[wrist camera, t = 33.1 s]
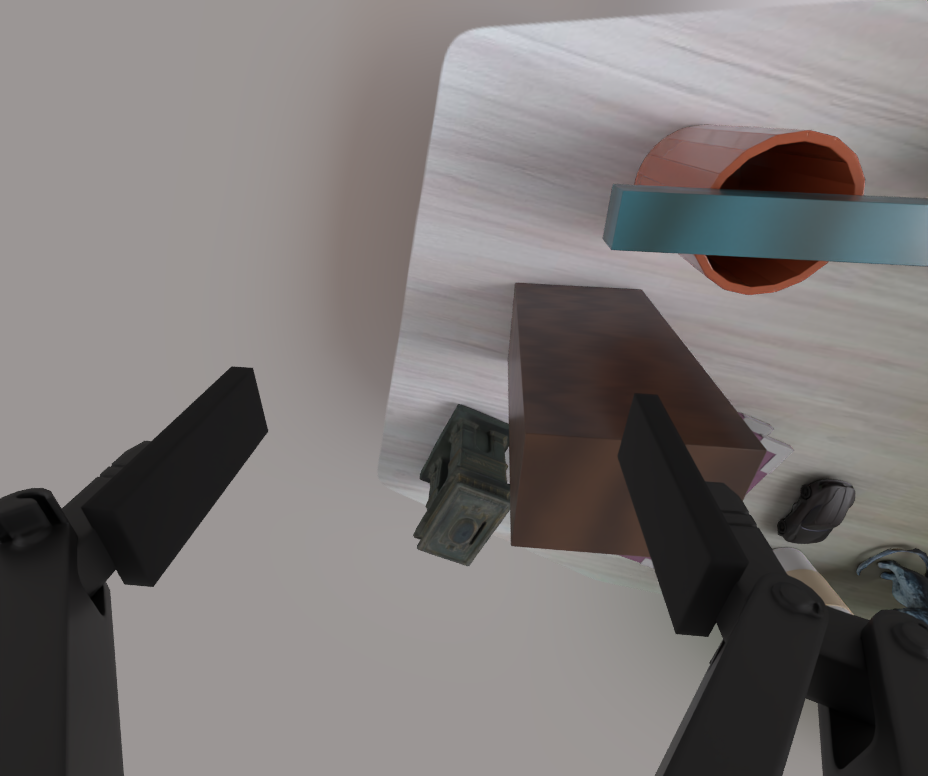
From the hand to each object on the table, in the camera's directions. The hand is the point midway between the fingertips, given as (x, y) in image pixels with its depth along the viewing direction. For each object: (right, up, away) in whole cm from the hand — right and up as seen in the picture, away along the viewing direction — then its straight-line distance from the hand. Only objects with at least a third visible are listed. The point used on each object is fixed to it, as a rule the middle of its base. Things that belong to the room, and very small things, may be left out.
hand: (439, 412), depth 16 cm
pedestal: (+13, +8, +37) cm, 40 cm away
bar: (+21, +12, +14) cm, 28 cm away
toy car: (+50, -16, +48) cm, 71 cm away
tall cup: (+23, +21, +28) cm, 42 cm away
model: (+1, -8, +48) cm, 48 cm away
